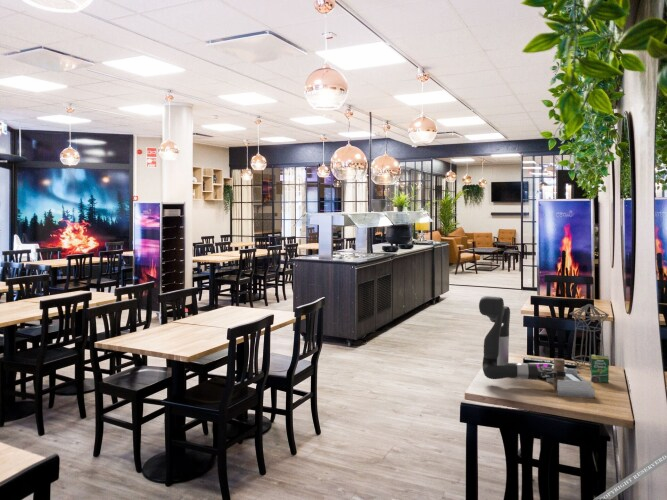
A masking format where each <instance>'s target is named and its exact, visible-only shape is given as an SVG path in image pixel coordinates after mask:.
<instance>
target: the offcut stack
mask: <svg viewBox="0 0 667 500" xmlns="http://www.w3.org/2000/svg"><path fill="white" fill-rule="evenodd" d="M564 380H573V381H580V380H579V379H577V378H576V377H574V376H573V375H572V374H566V376H565V377H564Z"/></svg>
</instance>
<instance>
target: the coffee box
mask: <svg viewBox="0 0 667 500" xmlns="http://www.w3.org/2000/svg"><path fill="white" fill-rule="evenodd" d="M590 357H591V358H590V362H591V364H590V365H591V370H590V382H595V383H604V384H606V383H607V384H608V383H609V379H610V376H609V374H610V373H609V371H610V370H609V367H610V366H609V365H610V363H609V359H610V358H609V355H604V356H603V355H602V356H601V354H599V355H598V354H597V355H596V354H595V355H594V354H591V355H590Z"/></svg>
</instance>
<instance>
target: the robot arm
mask: <svg viewBox="0 0 667 500" xmlns="http://www.w3.org/2000/svg"><path fill="white" fill-rule="evenodd" d="M504 302H505V301H504V299H503V298H502V297H500V296H490V295H487V296H486V295H485V296H484V295H483V296H481V298H480V299H479V303H478V309H479V312H480V314H481V315H482V316H485V317H487V318H489V321H491V322H492V323H493V326H492V327H491V328H490V330H489V331H488V332H487V334H486V335H485V338H484V341H483V356H482V357H483V358H482V371H483V375H484V376H485V377H486V378H487V379H491V380H502V379H519V380H530V381H531V380H535V381H536V380H538V379H537V378H538V376H541V377H545V378H546V379H548V378H557V376H560V377H565V376H566V373H565V372H560V371H554V369H553V368H550V367H544V366H540V368H538V367H537V365H536V364H531V363H523V362H518V363H515V362H509V358H510V357H509V355H510V350H509V348H510V347H509V346H510V321H511V320H510V319H511V309H510V307H509V306H505V303H504ZM553 374H554V375H553Z"/></svg>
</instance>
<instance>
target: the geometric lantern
mask: <svg viewBox="0 0 667 500" xmlns="http://www.w3.org/2000/svg"><path fill="white" fill-rule="evenodd" d="M589 308H590V310H591V311H588V310H589ZM599 311H600V312H601V313H600V312H599ZM583 313H584V314H583ZM582 314H583V315H582ZM586 314H587V316H586ZM569 315H571V316H573V318H574V335H573V336H574V337H573V344H572V350H571V352H572V353H571V360H572V361H573V362H575V364H576V365H577V369H582V370H588V371H591V355H592V354H591V352H592V351H591V346H592V332H593V355H596V332H599V331H600V333H601V334H600V337H601V339H600V340H601V341H600V355H601V356H605V351H604V350H605V349H604V328H603V325H604V321H605V320H606V319H607V318H608V317H609V316H610V315H609V314H608V313H607V312H605V311H603V310H601V309H599V308H598V307H596V306H594V305H593V304H591V303H587V304H586V305H584V306H582V307H580V308H578V309H576V310H574V311H572V312H569ZM595 316H596V317H595ZM581 318H582V319H583V320H582V319H581ZM585 318H587V319H586V320H585ZM577 320H578V323H577ZM593 320H597V322H598V323H597V324H596V326H589V325H590V324H591V322H592V321H593ZM601 320H602V321H601ZM588 321H589V322H588ZM580 322H581V323H582V325H579V324H580ZM587 322H588V323H587ZM598 325H599V326H600V327H598ZM581 327H582V328H581ZM585 327H586V329H585ZM591 328H592V329H593V330H591ZM577 330H582V336H581V337H582V338H581V346H580V355H577V356H575V355H576V354H575V353H576V342H577V341H576V340H577ZM585 331H586V334H585V333H584V332H585ZM588 333H589V355H587V353H588V352H587V349H588ZM584 334H585V336H586V337H585V355H583V354H582V352H583V344H584ZM579 357H580V359H576V358H579ZM583 357H584V359H583ZM586 358H589V360H588V361H586ZM585 363H586V364H585ZM588 364H589V365H588ZM582 366H583V367H582ZM584 366H585V367H589V368H584Z"/></svg>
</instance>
